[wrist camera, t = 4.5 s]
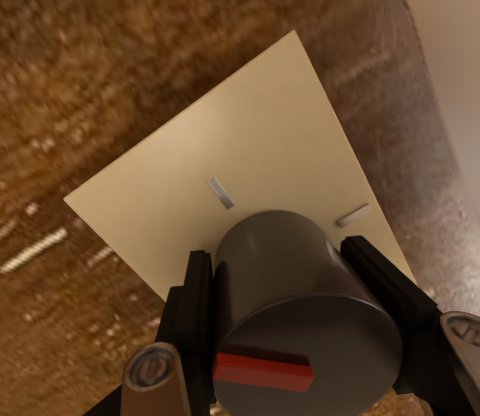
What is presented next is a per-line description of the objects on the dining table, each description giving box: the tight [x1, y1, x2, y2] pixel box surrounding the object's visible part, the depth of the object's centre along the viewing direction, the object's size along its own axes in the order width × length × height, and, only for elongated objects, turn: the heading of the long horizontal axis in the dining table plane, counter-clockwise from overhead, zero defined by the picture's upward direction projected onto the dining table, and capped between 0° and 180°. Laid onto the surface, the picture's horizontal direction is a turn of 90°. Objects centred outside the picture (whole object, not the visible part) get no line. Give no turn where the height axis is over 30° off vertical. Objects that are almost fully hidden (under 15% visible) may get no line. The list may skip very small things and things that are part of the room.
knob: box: [210, 210, 404, 416], centre depth 9 cm, size 5×5×5 cm
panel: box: [63, 30, 418, 302], centre depth 13 cm, size 14×10×3 cm
